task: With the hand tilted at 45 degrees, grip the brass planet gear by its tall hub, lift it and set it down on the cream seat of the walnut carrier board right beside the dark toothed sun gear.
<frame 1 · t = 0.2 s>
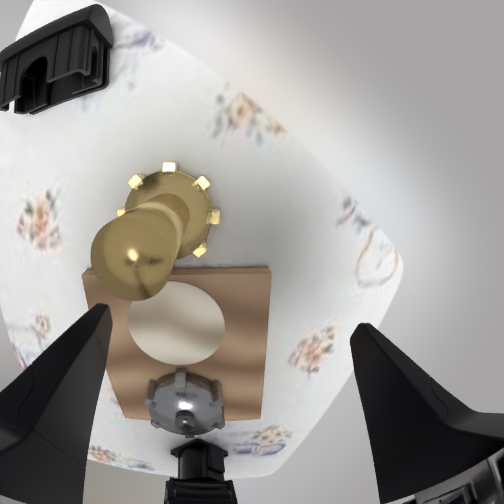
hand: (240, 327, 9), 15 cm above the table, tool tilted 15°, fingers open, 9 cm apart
end cap: (69, 70, 17), on the table
planet gear: (170, 212, 22), on the table
carrier board: (181, 355, 27), on the table
sun gear: (185, 396, 27), resting on carrier board
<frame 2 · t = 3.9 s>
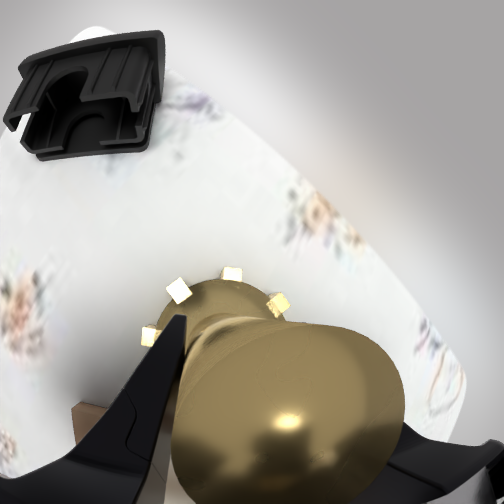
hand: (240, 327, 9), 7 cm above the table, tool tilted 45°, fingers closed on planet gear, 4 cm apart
end cap: (98, 119, 16), on the table
planet gear: (219, 343, 15), on the table, touching gripper
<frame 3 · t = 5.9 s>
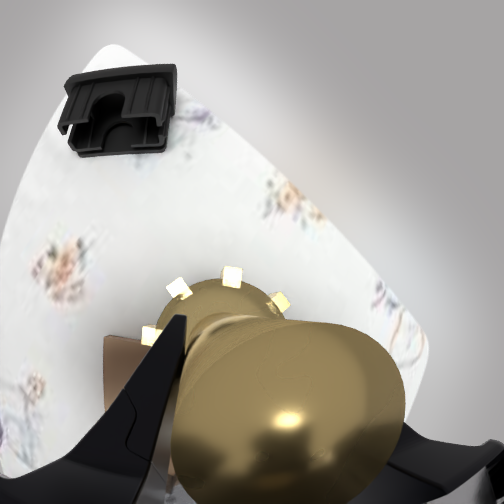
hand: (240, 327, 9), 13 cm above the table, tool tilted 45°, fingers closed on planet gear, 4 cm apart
end cap: (126, 126, 23), on the table
planet gear: (219, 343, 15), point 6 cm above the table, touching gripper
carrier board: (206, 449, 19), on the table
sun gear: (207, 495, 17), resting on carrier board
when the fingers open (9 cm above the table, at t = 7.8 s): planet gear drops 1 cm, resting on carrier board.
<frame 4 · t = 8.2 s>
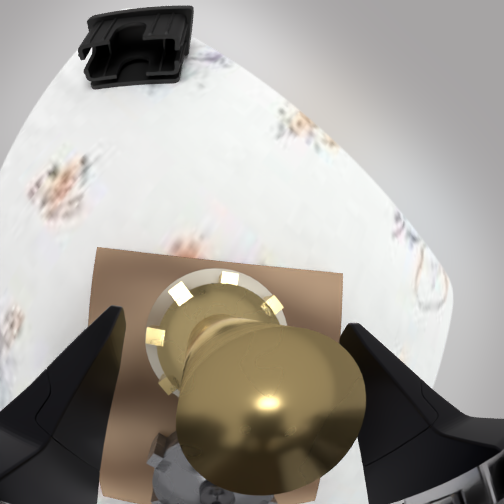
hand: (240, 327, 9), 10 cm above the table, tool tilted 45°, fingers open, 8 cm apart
end cap: (140, 65, 21), on the table
planet gear: (218, 342, 16), point 2 cm above the table, touching carrier board
carrier board: (212, 402, 17), on the table
sun gear: (211, 466, 14), resting on carrier board
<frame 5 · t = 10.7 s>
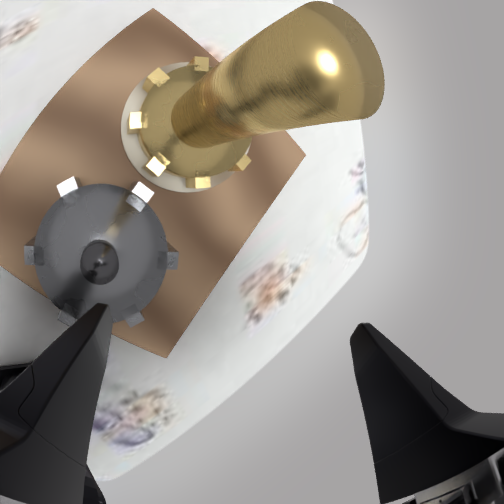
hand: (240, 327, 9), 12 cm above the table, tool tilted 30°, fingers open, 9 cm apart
planet gear: (190, 124, 16), point 2 cm above the table, touching carrier board
carrier board: (140, 181, 17), on the table
sun gear: (100, 245, 15), resting on carrier board
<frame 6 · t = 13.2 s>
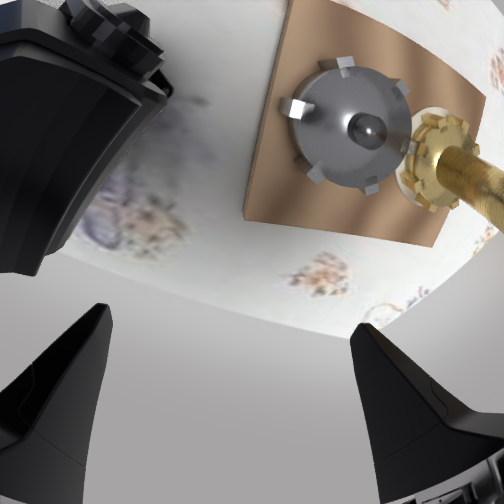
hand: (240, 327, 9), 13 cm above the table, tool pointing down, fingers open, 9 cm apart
planet gear: (435, 158, 18), point 2 cm above the table, touching carrier board
carrier board: (384, 135, 18), on the table
sun gear: (341, 120, 16), resting on carrier board
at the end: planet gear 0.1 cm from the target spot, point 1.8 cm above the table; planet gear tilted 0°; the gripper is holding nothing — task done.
